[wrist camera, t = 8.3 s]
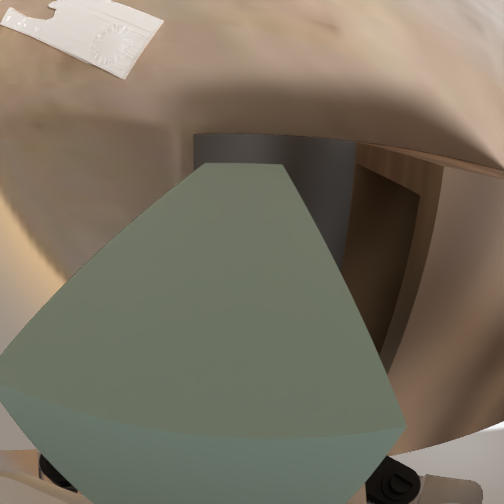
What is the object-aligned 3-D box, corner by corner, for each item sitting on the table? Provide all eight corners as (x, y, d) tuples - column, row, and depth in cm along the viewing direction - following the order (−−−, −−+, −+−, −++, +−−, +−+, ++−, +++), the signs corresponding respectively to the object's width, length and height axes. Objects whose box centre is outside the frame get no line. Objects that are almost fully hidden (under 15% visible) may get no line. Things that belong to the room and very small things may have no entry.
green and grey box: (282, 164, 12) (407, 425, 1) (264, 414, 18) (264, 575, 7) (205, 162, 12) (-16, 376, 1) (217, 412, 18) (198, 571, 8)
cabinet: (509, 173, 16) (603, 215, 7) (458, 343, 23) (507, 419, 14) (197, 134, 17) (126, 148, 7) (206, 351, 23) (184, 461, 14)
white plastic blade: (37, -26, 11) (30, -29, 10) (171, 17, 14) (167, 11, 13) (5, 26, 12) (-3, 24, 11) (126, 82, 16) (119, 80, 15)
